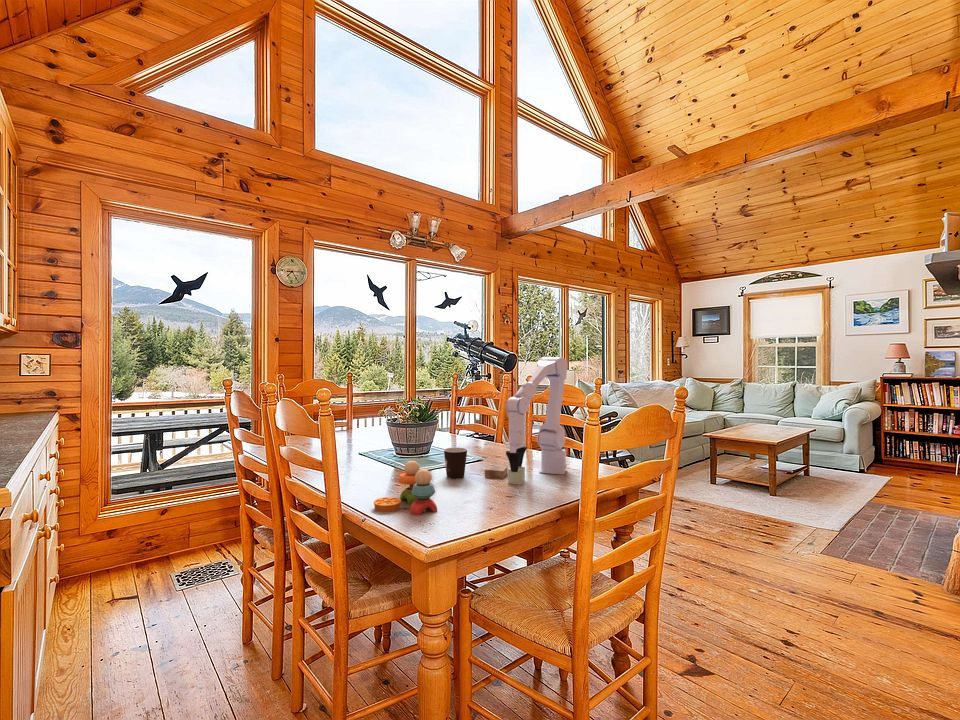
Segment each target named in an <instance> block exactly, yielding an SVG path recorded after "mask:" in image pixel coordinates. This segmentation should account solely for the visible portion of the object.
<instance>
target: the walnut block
mask: <svg viewBox="0 0 960 720" xmlns="http://www.w3.org/2000/svg"><path fill="white" fill-rule="evenodd" d="M506 476H508V466H503V465H488V466H487V467H485V469H484V477H485V478H494V479H504V478H505V477H506Z"/></svg>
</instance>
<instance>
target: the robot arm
mask: <svg viewBox="0 0 960 720" xmlns="http://www.w3.org/2000/svg"><path fill="white" fill-rule="evenodd" d="M567 371H568V363H567V361H566V359H565V357H563V356H559V357H558V356H556V357H554V356H553V357H552V356H541V357H540V358H539V360H538V361H537V362H536V369H535V371H534V372H533V374H532V376H531V377H530V378H529V380H528V381H524V382H522V384H521V386H519V387H520V388H519V389H518V390H517V391H516V392H515V394H514V395H513V396H511V397H509V398H508V399H507V400H506V402H505V405H504V407H505V410H506V415H507V416H506V417H508V442H507V441H506V442H505V443H504V444H505V446H508V448H509V450H506V452H505V455H506V457H507V459H508V463H509V468H511V472H518V468H519V467H523V466H522V465H523V462H524V457H525V454H526V451H527V449H528V447H527V446H526V413H528V411H529V406H530V404H531V401H532V399H533V398H534V396H535V395H536V394H537V391H538V390H537V387H538V386H539V385H540V384H541V382H542V381H543V380H544V379H545V378H546V379H547V380H549V382H550V385H549V391H548V400H547V401H548V402H547V408H546V416H545V422H544V423H543V424H541V425H540V426H539V430H538V433H537V434H536V441H537V444H538V445H539V448H540V449H541V453H540V454H541V461H540V462H541V465H540V467H541V468H540V469H539V471H538V473H540V474H553V475H555V474H556V475H565V473H566V470H567V450H566V449H565V448H564V446H565V443H566V435H565V432H566V430H565V428H564V427H563V426H562V425H561V424H560V421H561V412H562V404H563V397H564V391H565V390H564V389H565V382H566V381H565V380H566V379H567V373H568V372H567Z"/></svg>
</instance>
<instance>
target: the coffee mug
mask: <svg viewBox="0 0 960 720" xmlns="http://www.w3.org/2000/svg"><path fill="white" fill-rule="evenodd" d="M443 455H444V464H445V472H446V478H447V479H451V480H462V479H464V478H465V471H466V464H467V456H468V449H467V448H465V447H455V446H454V447H447V448H444V449H443Z"/></svg>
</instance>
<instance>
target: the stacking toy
mask: <svg viewBox="0 0 960 720" xmlns="http://www.w3.org/2000/svg"><path fill="white" fill-rule="evenodd" d="M403 470H404V472H403V473H400V475H399V477H398V483H399V484H402V485H409V486H408V487H406V488H405V489H404V490H402V492H401V493H400V496H399V498H398V497H394V496H393V497H392V496H385V497H380V498H377V499H375V500H374V501H373V505H374V508H375V511H377V512H382V513H390V512H395V511H398V510H399V509H400V507H401V503H402V501H404V500H406V501H407V505H408V506H409V505H410V507H409V514H410V515H412V516H416V517H419V516H421V515H422V513H426V512H427V509H429V510H430V511H432V512H434V513H437V512H438V507H437V504H436V503H435V501H434V500H433V499H431V498H432V496H434V494H436V489H435V487H434V485H433V483H432V482H431V481H432V474H431V472H430V471H429V470H428V469H425V468H424V469H423V468H422V469H420V464H419V463H418V462H417V461H415V460H408V461H407V462H406V463H405V465H404V467H403Z"/></svg>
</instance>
